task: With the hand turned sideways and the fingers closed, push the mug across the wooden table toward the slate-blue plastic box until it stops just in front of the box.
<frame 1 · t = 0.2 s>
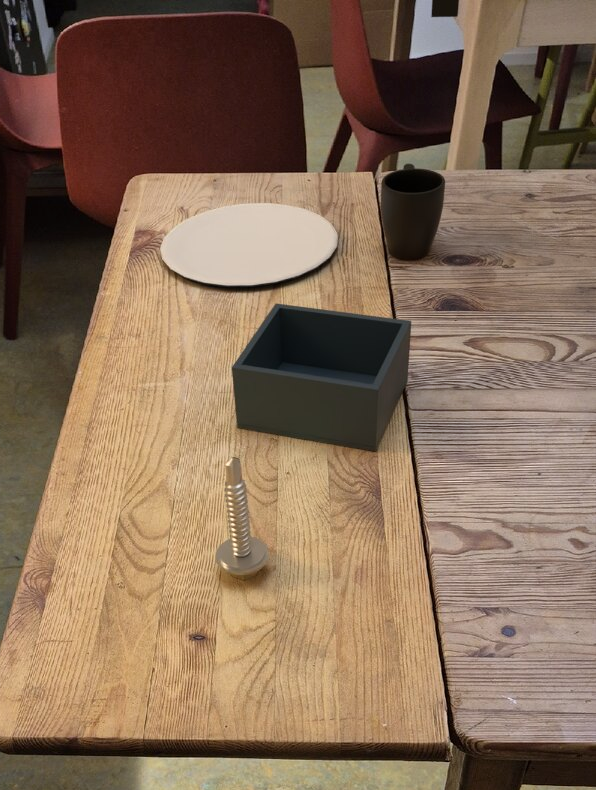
plate: (249, 250, 130), on the table
screw: (244, 571, 86), on the table
mug: (408, 246, 128), on the table
box: (324, 404, 103), on the table
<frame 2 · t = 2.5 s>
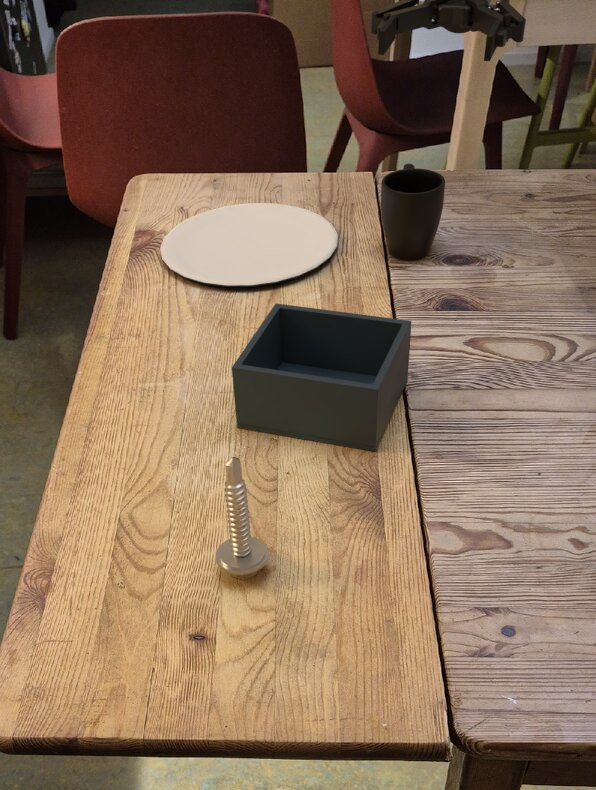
hand: (433, 46, 117), 22 cm above the table, tool horizontal, fingers open, 13 cm apart
nothing on the table moved.
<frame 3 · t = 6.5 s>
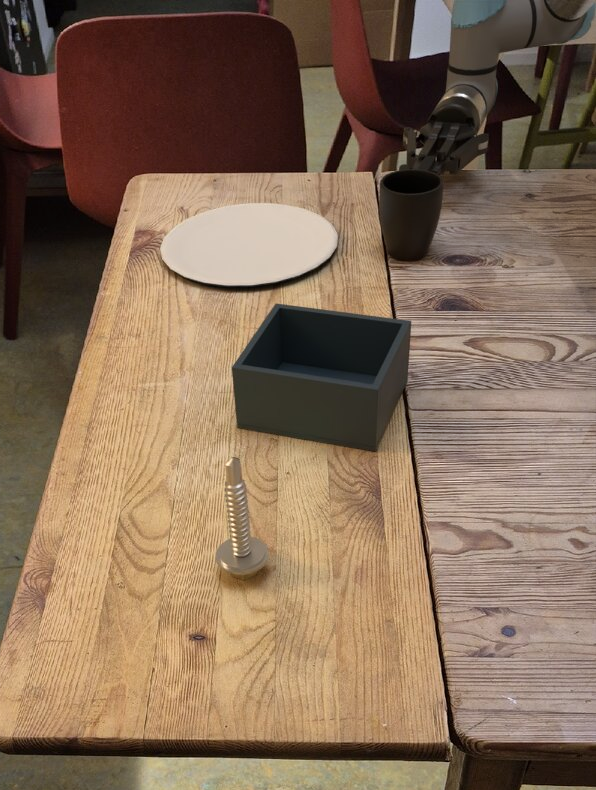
hand: (419, 184, 127), 6 cm above the table, tool horizontal, fingers closed
mug: (406, 246, 128), on the table, touching gripper
everything else where it was.
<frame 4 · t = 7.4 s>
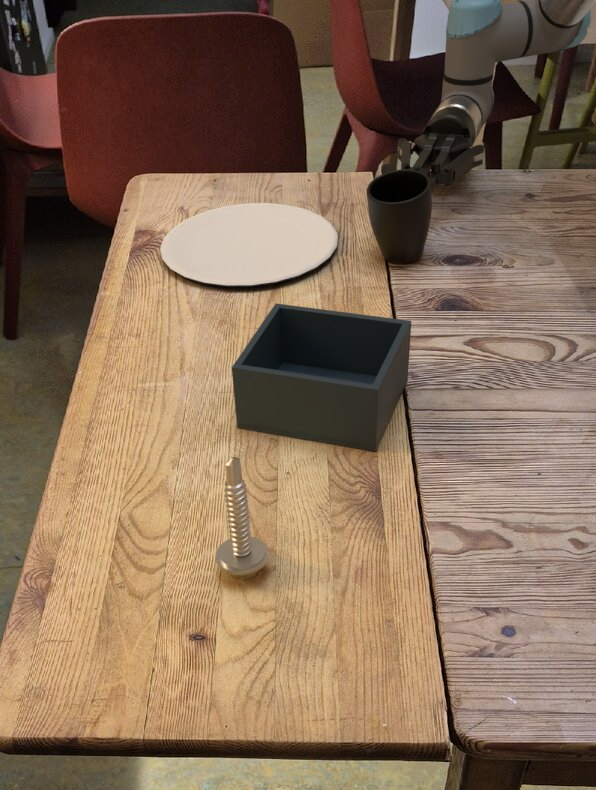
hand: (413, 197, 125), 6 cm above the table, tool horizontal, fingers closed
mug: (400, 246, 127), on the table
everything else where it was.
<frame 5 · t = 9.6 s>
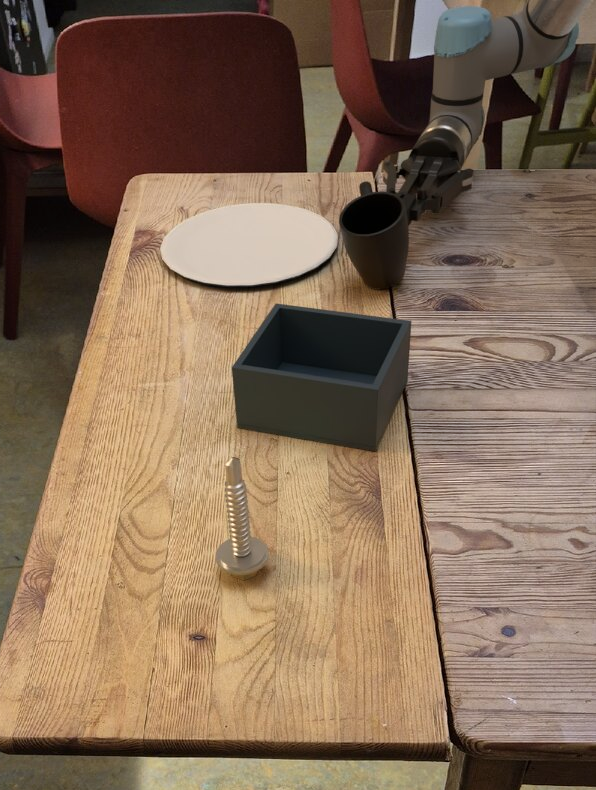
hand: (398, 225, 119), 6 cm above the table, tool horizontal, fingers closed
mug: (382, 266, 122), point 1 cm above the table, touching gripper
everything else where it was.
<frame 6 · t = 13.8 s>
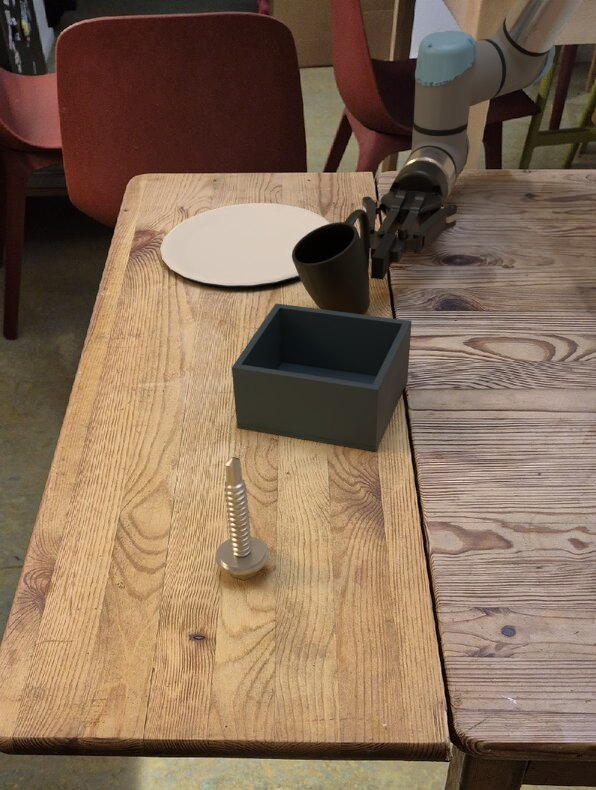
hand: (377, 268, 112), 6 cm above the table, tool horizontal, fingers closed
mug: (357, 300, 116), point 1 cm above the table
everything else where it was.
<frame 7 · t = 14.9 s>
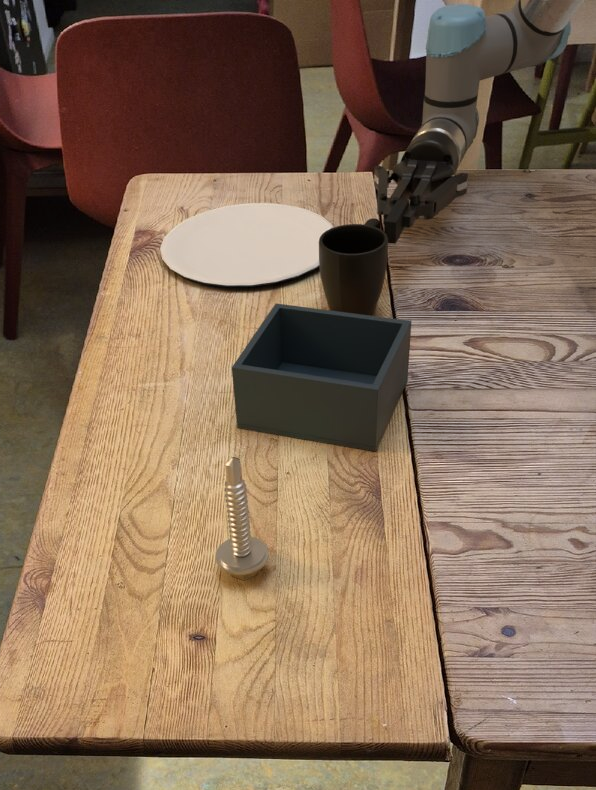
hand: (390, 232, 114), 8 cm above the table, tool horizontal, fingers closed
mug: (358, 306, 118), on the table
everything else where it was.
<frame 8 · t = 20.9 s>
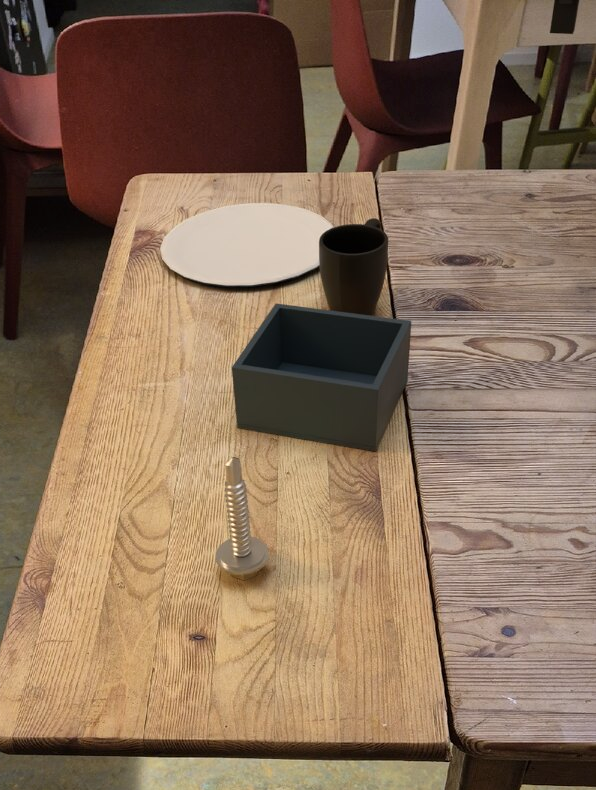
hand: (562, 31, 111), 24 cm above the table, tool pointing down, fingers closed
nothing on the table moved.
at the end: mug 22.1 cm from the box (horizontally); mug moved 17.7 cm from its start; mug tilted 0° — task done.
